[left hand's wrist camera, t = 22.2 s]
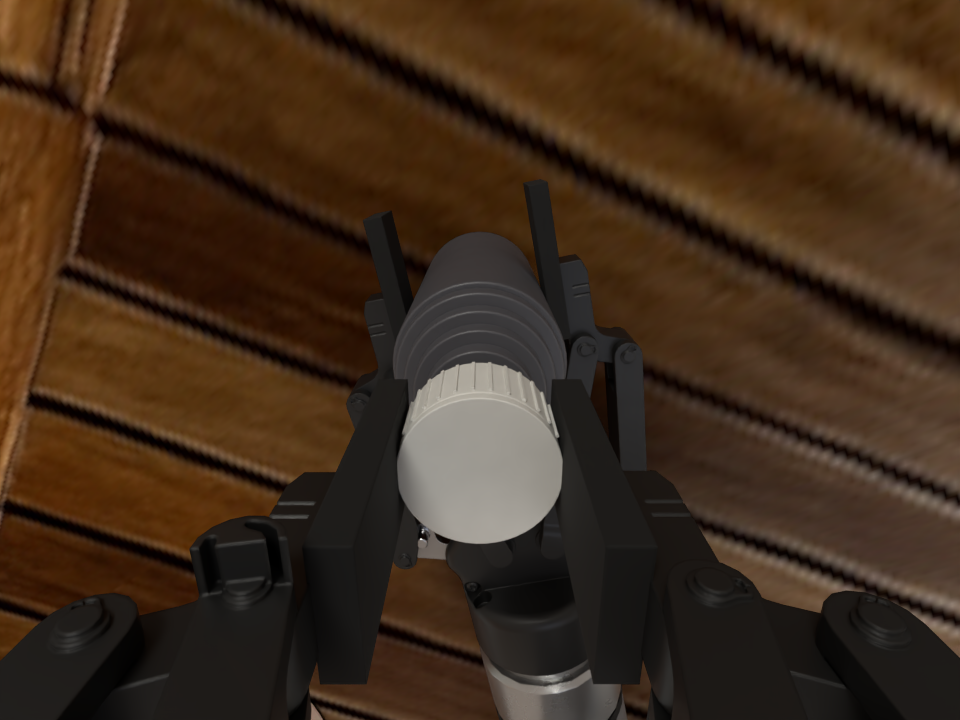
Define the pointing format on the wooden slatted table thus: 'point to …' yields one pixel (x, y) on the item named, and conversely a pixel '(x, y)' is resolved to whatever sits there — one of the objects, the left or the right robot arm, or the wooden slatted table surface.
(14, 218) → the wooden slatted table surface
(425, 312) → the bottle
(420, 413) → the cap
